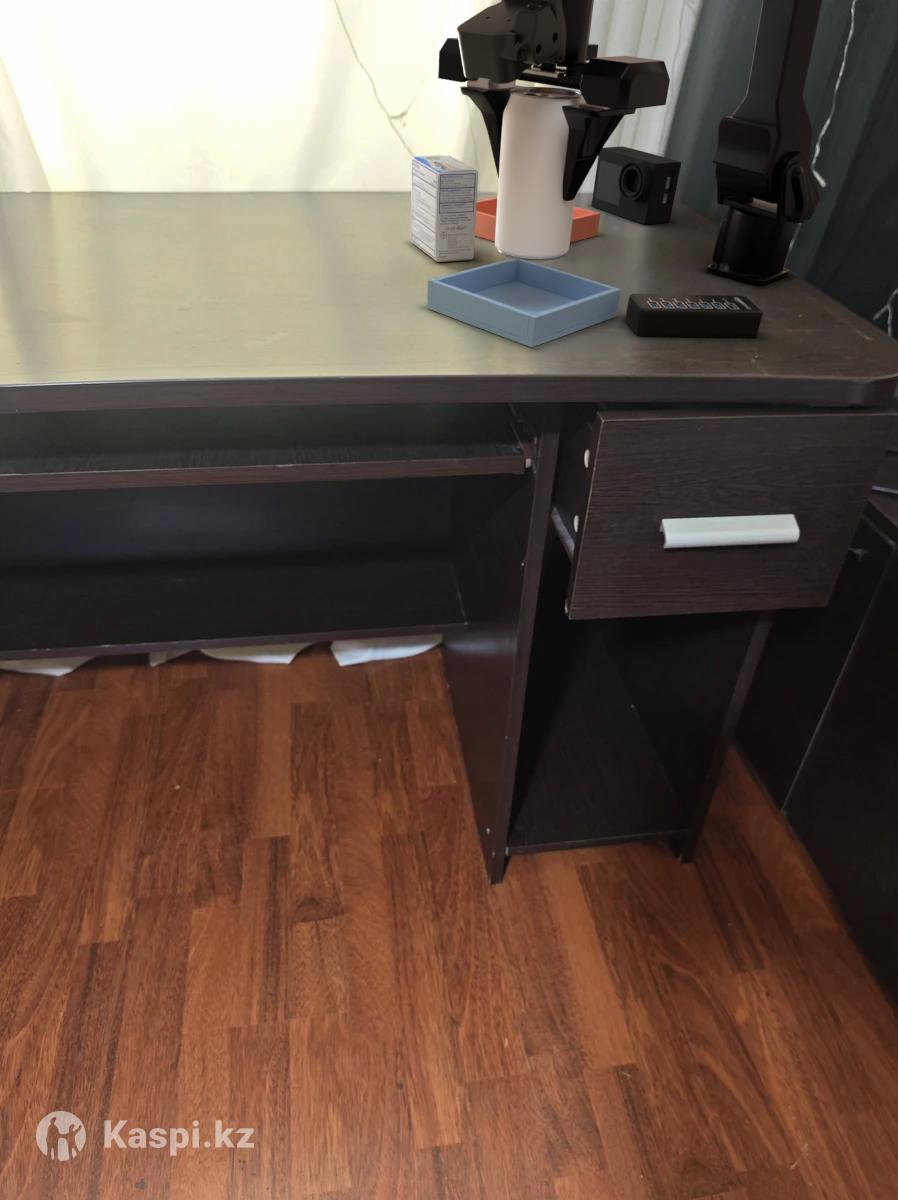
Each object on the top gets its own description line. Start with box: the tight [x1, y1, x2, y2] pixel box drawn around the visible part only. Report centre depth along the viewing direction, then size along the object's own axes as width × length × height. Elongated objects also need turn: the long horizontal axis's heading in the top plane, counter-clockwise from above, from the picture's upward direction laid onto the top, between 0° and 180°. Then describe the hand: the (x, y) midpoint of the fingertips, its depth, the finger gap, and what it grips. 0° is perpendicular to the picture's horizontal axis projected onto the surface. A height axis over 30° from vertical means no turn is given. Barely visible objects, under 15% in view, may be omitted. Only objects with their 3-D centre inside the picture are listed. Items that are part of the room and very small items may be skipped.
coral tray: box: [475, 196, 601, 244], centre depth 99 cm, size 12×12×2 cm
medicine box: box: [410, 154, 479, 263], centre depth 89 cm, size 8×4×9 cm, turn 22°
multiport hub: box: [624, 293, 764, 339], centre depth 75 cm, size 4×11×2 cm, turn 96°
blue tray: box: [426, 258, 622, 348], centre depth 76 cm, size 12×12×2 cm
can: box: [494, 86, 581, 262], centre depth 70 cm, size 6×6×12 cm
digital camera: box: [591, 145, 682, 226], centre depth 107 cm, size 10×5×7 cm, turn 33°
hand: (535, 192), depth 71 cm, fingers closed on can, 6 cm apart
